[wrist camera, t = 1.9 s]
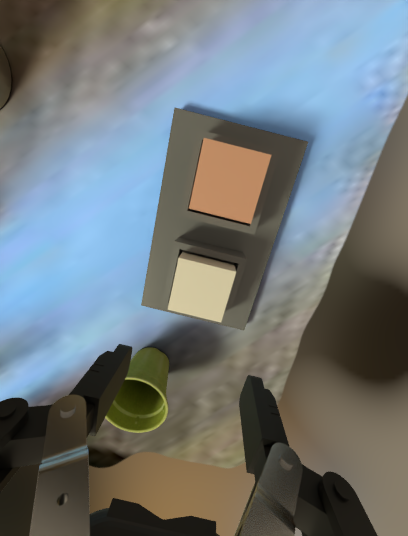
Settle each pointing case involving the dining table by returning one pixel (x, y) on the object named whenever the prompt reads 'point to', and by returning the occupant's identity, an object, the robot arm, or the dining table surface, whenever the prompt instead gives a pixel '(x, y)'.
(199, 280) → the cream key
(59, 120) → the dining table surface
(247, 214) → the terracotta key
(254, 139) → the key panel
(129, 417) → the plant pot
